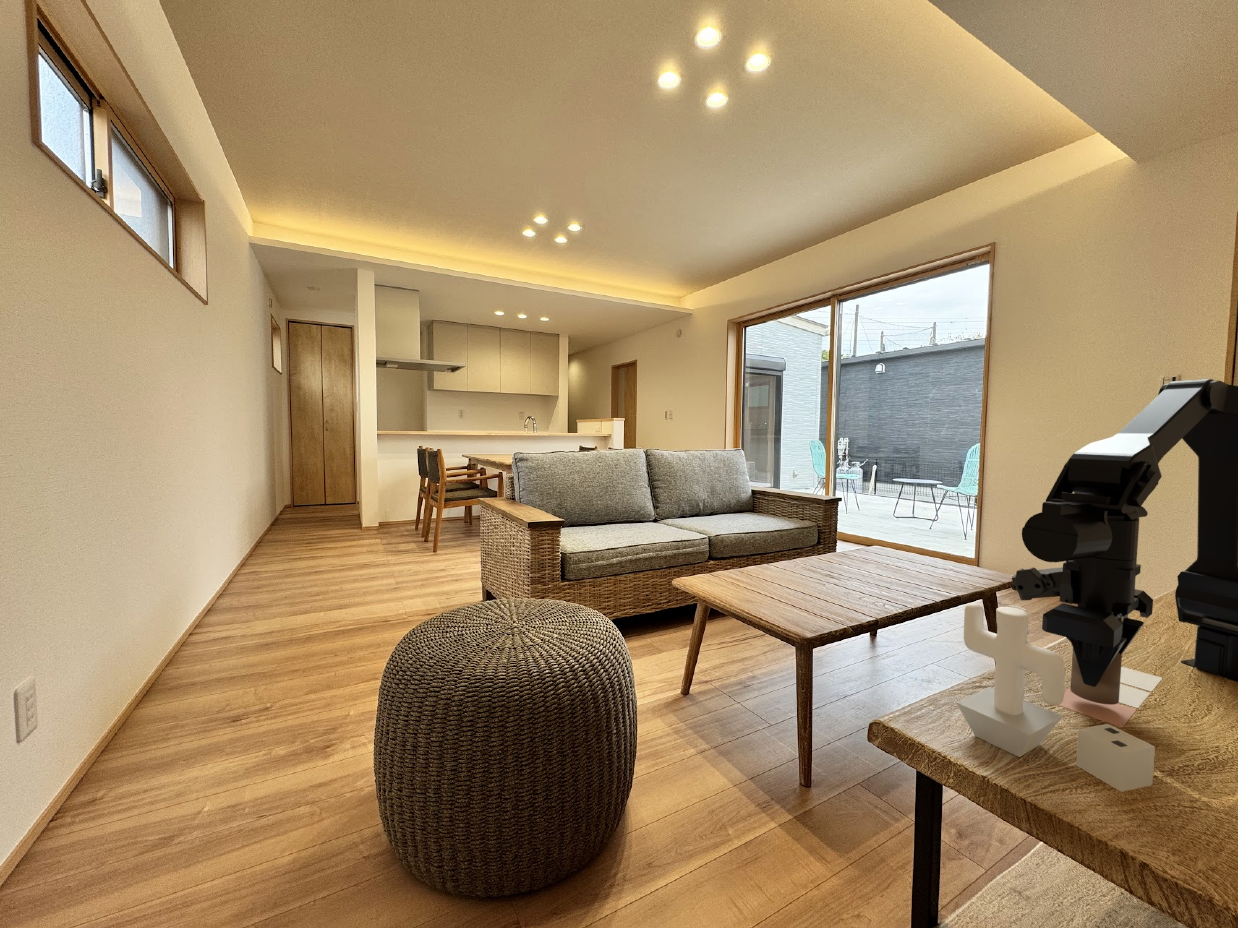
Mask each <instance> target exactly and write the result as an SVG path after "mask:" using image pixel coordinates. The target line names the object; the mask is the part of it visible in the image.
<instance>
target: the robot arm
mask: <svg viewBox="0 0 1238 928" xmlns="http://www.w3.org/2000/svg"><path fill="white" fill-rule="evenodd" d="M1181 440H1183V442H1185V444H1186V445H1187V446H1188V448H1190V449H1191V451H1192V452H1193V453H1194V454H1195V455H1196V456H1197V459H1198V461H1197V462H1198V464H1197V467H1198V469H1197V473H1198V475H1197V545H1196V546H1197V554H1196V560H1194V561H1193V563H1191V564H1190V565H1189V566H1188V567H1187V568H1186V569H1185V570H1183V571H1180V572H1179V574H1178V575H1177V576H1176V577H1177V586H1176V589H1175V595H1174V596H1175V603H1176V604H1175V605H1176V612H1177V618H1178V622H1179V623H1180V622H1181V623H1185V624H1190V625H1194V626H1197V629H1196V639H1195V646H1194V647H1195V648H1194V658H1189V659H1183V660H1180V663H1181V664H1184V665H1187V666H1190V667H1192V668H1196V669H1198V670H1201V671H1203V672H1205V673H1206V672H1207V673H1210V674H1213V675H1215V676H1218V677H1221V678H1224V679H1227V680H1230V681H1233V682H1235V683H1238V385H1234V384H1228V383H1227V382H1224V381H1222V380H1215V379H1213V378H1208V379H1207V378H1206V379H1191V380H1177V381H1176V380H1174V381H1173V380H1172V381H1171V382H1168V383H1164V384H1162V385H1161V387H1160V389H1159V390H1158V394H1157V396H1156V397H1155V398H1154V399H1153V400H1152V401H1150V402H1149V403H1148V405H1146V406H1145V407H1144V408H1143V409H1142V410H1141V411H1139V413H1137V414H1136V416H1134V417H1133V418H1132V419H1131V420H1130V421H1129V422H1128V423H1127V424H1126V425H1125V426H1124V427H1123V428H1122V429H1120V431H1118V432H1117V433H1116V434H1114V435H1112V436H1110V437H1107V438H1104V439H1100V440H1097V441H1093V442H1089V443H1088V444H1086V445H1085V446H1083V447H1081V448H1079V450H1077V451H1075V452H1074V453H1073V454H1072V455H1071V456H1070V457H1069V458H1068V460H1067V461H1066V462H1065V463H1064V465H1063V468H1062V469H1061V470H1060V471H1061V472H1059V475H1058V477H1057V478H1056V480H1055V482H1054V484H1053V486H1052V488H1051V489H1050V491H1049V493H1048V495H1047V497H1046V498H1045V501H1044V502H1042V506H1041V512H1039V513H1036V514H1033V515H1032V516H1030V517H1029V518H1028V520H1026V522H1025V524H1024V525H1023V527H1022V528H1021V537H1022V538H1021V539H1022V542H1023V544H1024V546H1025V548H1026V549H1027V551H1028V552H1029V553H1030V554H1031V555H1032V556H1034V557H1035V558H1036V559H1038V560H1040V561H1043V562H1046V563H1062V562H1063V563H1062V567H1053V568H1052V567H1051V568H1044V569H1042V568H1041V569H1037V568H1035V567H1030V568H1026V569H1024V568H1020V569H1018V570H1016V573H1015V574H1014V575H1012V577H1011V580H1012V583H1011V584H1010V588H1011V589H1012V590H1013V591H1015V592H1017V593H1018V597H1019V599H1020V600H1021V601H1031V600H1033V599H1042V598H1043V599H1044V598H1053V597H1054V598H1056V597H1059V602H1061V604H1059V605H1057V606H1055V607H1053V608H1051V609H1050V610H1048V611H1046V612H1044V613H1043V614H1042V625H1041V626H1042V627H1041V630H1042V631H1043V632H1045V633H1049V634H1052V635H1055V636H1060V637H1065V638H1066V639H1067V640H1068V641H1069V642H1070V644H1071V646H1072V650H1073V649H1074V652H1075V655H1076V659H1077V662H1078V666H1079V669H1080V673H1081V676H1082V680H1083V683H1084V684H1086V685H1089V686H1092V687H1095V686H1097V684H1098V683H1099V681H1100V680H1101V678H1102V677H1103V675H1104V673H1105V672H1106V670H1107V669H1108V667H1109V666H1110V664H1111V663H1112V661H1113V659H1114V658H1115V656H1116V655H1117V653H1120V654H1121V655H1122V656H1123V654H1124V652H1125V651H1126V650H1127V649H1128V647H1129V646H1130V644H1131V643H1132V642H1133V640H1134V638H1135V637H1136V636H1137V634H1138V633H1139V632H1140V630H1141V628H1143V626H1144V624H1145V622H1144V621H1143V620H1140V619H1139V620H1138V619H1135V618H1129V614H1131V613H1132V612H1133V611H1138V612H1139V615H1140V617H1142V618H1146V619H1148V618H1149V617H1150V616H1152V615H1153V608H1154V607H1153V606H1154V599H1153V597H1151V596H1150V595H1149V594H1148V593H1147V592H1146V591H1144V590H1141V589H1136V577H1137V576H1138V575H1140V574H1141V568H1142V564H1138V562H1137V561H1138V559H1137V557H1138V546H1139V534H1140V532H1139V531H1140V518H1145V517H1147V516H1148V515H1149V514H1148V511H1147V510H1146V508H1145V507H1143V504H1144V503H1145V501H1146V500H1147V499H1148V497H1149V496H1150V495H1151V494H1152V493H1153V491H1155V489H1156V487H1157V486H1158V485H1159V481H1160V480H1161V479H1162V472H1161V469H1160V466H1159V463H1160V462H1161V461H1162V459H1163V458H1164V457H1165V456H1166V455H1167V454H1168V452H1170V451H1171V450H1172V449H1173V448H1174V447H1175V446H1176V445H1177V444H1178V443H1179V442H1180V441H1181ZM1072 604H1074V605H1072Z"/></svg>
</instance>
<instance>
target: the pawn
mask: <svg viewBox="0 0 1238 928" xmlns="http://www.w3.org/2000/svg"><path fill="white" fill-rule="evenodd" d="M1071 656H1072V657H1071V672H1070V673H1071V674H1070V675H1071V676H1070V686H1069V688H1070V690H1071V692H1072V693H1074V694H1075V695H1077V696H1079V697H1081V698H1083V699H1086V700H1089V701H1092V702H1096V703H1100V704H1108V705H1113V704H1120V703H1119V692H1120V684H1121V683H1120V677H1121V666H1122V659H1123V654H1122V655H1121V654H1120V653H1117V655H1116V656H1115V658H1114V659H1113V661H1112V663H1111V664H1110V666H1109V667H1108V669H1107V670H1106V672H1105V673H1104V675H1103V677H1102V678H1101V680H1100V681H1099V683H1098V684H1097V686H1095V687H1092V686H1089V685H1086V684H1084V683H1083V680H1082V676H1081V673H1080V669H1079V666H1078V662H1077V659H1076V655H1075V652H1074V649H1073V648H1072V655H1071Z"/></svg>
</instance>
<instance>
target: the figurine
mask: <svg viewBox="0 0 1238 928" xmlns="http://www.w3.org/2000/svg"><path fill="white" fill-rule="evenodd" d="M995 611H996V613H995V615H996V616H995V617H996V620H995V621H996V625H997V626H996V627H997V629H996V630H997V631H996V632H997V633H995V632H992V631H988V630H986V628H985V624H984V607H983V606H982V605H981V604H980V603H977V602H970V603H967V604H966V606H965V607H964V613H963V614H964V616H963V641H964V645H965V646H966V648H968V649H969V650H970V651H972V652H973V653H977V654H979V655H982V656H986V657H988V658H991V659H993V661H994V662H995V669H994V670H995V672H994V687H991V686H987V687H986V688H983V689H981V690H979V691H977V692H974V693H973V694H970V695H968V696H966V697H964V698H961V699H959V700H957V701H956V702H955V704H956V705H957V706H958V708H959V710H960V712H961V715H962V716H963V718H964V719H965V720H966V721H965V722H967V725H968V726H969V728H970V730H971V731H972V734H973V735H974V737H977V738H979V739H980V740H982V741H985V742H986V743H989V744H991V745H993V746H995V747H997V748H999V749H1002V750H1004V751H1006V752H1007V753H1010V754H1012V755H1014V756H1016V757H1018V758H1021V757H1022V756H1023V755H1026V754H1027V753H1028V752H1030V751H1032V750H1034V749H1035V748H1037V747H1039V746H1040V745H1041V744H1042V742H1043V741H1044V740H1045V739H1046V738H1047V736H1048V735H1049V734H1050V733H1051V732H1052V730H1054V728H1055V727H1056V726H1057V724H1058V723H1059V722H1060V721H1061V720H1062V718H1063V717H1064V715H1062V714H1060V713H1058V712H1054V711H1053V710H1050V709H1047V708H1045V707H1042V706H1039V705H1037V704H1035V703H1033V702H1029V701H1027V700H1025V685H1026V684H1025V683H1026V671H1029V672H1031V673H1034V674H1037V675H1038V676H1039V677H1040V681H1041V698H1042V701H1043V702H1044V703H1045V704H1047V705H1050V706H1059V704H1061V703H1062V702H1063V699H1064V692H1065V680H1066V666H1065V665H1066V664H1065V660H1064V658H1063V656H1061V654H1059V653H1057V652H1056V651H1053V650H1051V649H1048V648H1047V649H1046V648H1044V647H1040V646H1037V645H1033V644H1030V643H1029V642H1028V635H1030V633H1031V631H1030V629H1029V622H1030V621H1029V612H1028V610H1027V609H1025V608H1024V607H1020V606H1017V605H1011V604H1008V605H1007V606H1000V607H997V608H996V610H995Z"/></svg>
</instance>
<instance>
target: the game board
mask: <svg viewBox="0 0 1238 928" xmlns="http://www.w3.org/2000/svg"><path fill="white" fill-rule="evenodd" d="M1163 679H1164V678H1163V677H1161V676H1157V675H1155V674H1154V675H1153V674H1150V673H1147V672H1143V671H1140V670H1135V669H1131V668H1129V667H1126V666H1125V667H1124V666H1122V665H1121V677H1120V692H1119V703H1118V704H1113V705H1108V704H1100V703H1096V702H1092V701H1089V700H1086V699H1083V698H1081V697H1079V696H1077V695H1075V694H1074V693H1072V692H1071V690H1070V687H1069V688H1068V689H1066V690H1064V699H1063V702H1062V703H1061V704H1059V705H1058V706H1060V707H1062V708H1065V709H1068V710H1070V711H1073V712H1077V713H1079V714H1082V715H1085V716H1088V717H1091V718H1094V719H1097V720H1099V721H1102V722H1106V723H1107V724H1110V725H1113V726H1116V727H1120V728H1124V726H1125V725H1126V724H1127V723H1128V721H1129V720H1130V719H1131V717H1132V716H1133V715H1134V714H1135V712H1136V711H1137V709H1139V708H1140V707H1141V705H1142V704H1143V703H1144V702H1145V701H1146V699H1147V698H1148V697H1149V696H1150V694H1151V693H1152V692H1153V691H1154V690H1155V689H1156V687H1157V686H1158V684H1160V683H1161V681H1162V680H1163ZM1122 704H1123V705H1122Z"/></svg>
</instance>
